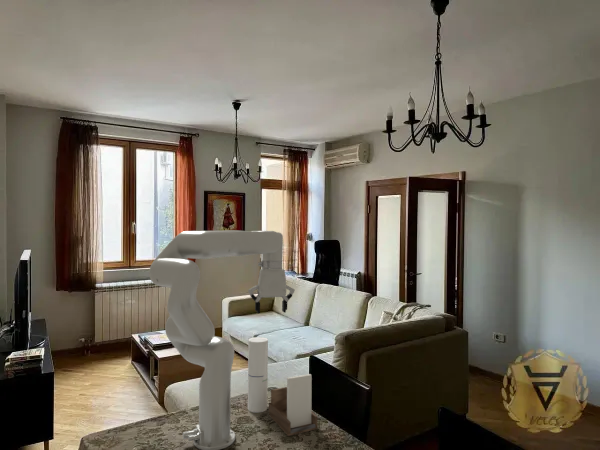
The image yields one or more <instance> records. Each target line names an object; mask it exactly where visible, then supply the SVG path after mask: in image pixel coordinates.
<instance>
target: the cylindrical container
mask: <svg viewBox="0 0 600 450" xmlns="http://www.w3.org/2000/svg"><path fill="white" fill-rule="evenodd" d="M247 342H248V344H247V348H248V349H247V351H248V353H247V355H248V356H247V359H248V360H247V411H249V412H251V413H264V412H265V411H267V409H268V377H269V375H268V372H269V371H268V369H269V367H268V365H269V363H268V362H269V360H268V359H269V358H268V357H269V339H268V338H267V337H265V336H264V337H262V336H259V337H258V336H256V337H250V338H248V341H247Z"/></svg>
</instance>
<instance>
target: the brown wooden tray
mask: <svg viewBox="0 0 600 450" xmlns="http://www.w3.org/2000/svg"><path fill="white" fill-rule="evenodd" d="M268 416H269V417H270V418H271V419H272V420H273V421H274V423H276V425H278V427H279V428H280V429H281V430H282V431H283V432H284V433H285V434H286V436H288V437H290V436H295V435H298V434H302V433H306V432H310V431H311V432H312V431H314V430H318V426H319V425H318V423H319V422H318V421H319V420H318V417H319V416H318V415H317V414H315V413H314V412H313V411H312V410H311V424H307V425H303V426H299V427H294V428H291V422H290V421H289V420H288V419H287V386H284V387H279V388H273V389H270V402H269V403H268Z"/></svg>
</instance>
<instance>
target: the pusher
mask: <svg viewBox="0 0 600 450" xmlns="http://www.w3.org/2000/svg"><path fill="white" fill-rule="evenodd" d="M286 380H287V381H286V387H287V419H288V420H289V421H290V422H291V428H294V427H299V426H303V425H307V424H311V411H312V389H313V388H312V386H313V385H312V380H313V378H312V374H311V373H307V374H300V375H296V376H289V377H288V376H287V378H286Z"/></svg>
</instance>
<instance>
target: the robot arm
mask: <svg viewBox="0 0 600 450" xmlns="http://www.w3.org/2000/svg"><path fill="white" fill-rule="evenodd" d="M283 243H284V235H283V233H281V232H280V231H279V232H278V231H274V230H251V231H247V230H237V229H235V230H233V229H232V230H231V229H230V230H229V229H225V230H185V231H182V232H180V233H178V234H177V235H175V237H174V238H173V239H172V240H171V241H170V242H169V243H168V244H167V245H166V246H165V247H164V249H162V251H161V252H160V253H159V254H158V255H157V256H156V258H155V259H153V262H152V263H151V265H150V267H149V271H148V276H149V279H150V281H151V283H152V284H154V285H155V286H158V287H162V288H169V289H170V292H169V295H168V300H167V305H166V309H167V312H168V314H169V316H168V318H167V319H166V321H165V326H164V327H165V329H164V330H165V334H166V335H165V336H166V337H167V339H168V340H169V342H170V343H171V344H172V346H173V347H174V348H175V349H176V350H177V352H178V353H179V354H180V355H181V356H182V358H183V360H186V361H187V362H189V363H191V364H192V365H196V366H200V367H202V368H204V371H203V372H202V375H201V377H200V380H199V384H198V424H196V425H195V426H196V427H195V428H193V429H192V430H185V431H183V432H182V439H183V440H185V439H186V440H187V439H188V441H189V442H190V441H193V445H194V446H195V447H196V448H197V449H199V450H222V449H226V448H228V447H230V446H231V445H233V444H234V442H235V440H236V433H235V432H234V430H232V429H231V394H232V393H231V385H232V383H231V381H232V380H231V379H232V370H233V369H232V368H233V363H234V358H235V348H234V346H233V344H232V342H231V341H230V340H228V339H226V338H224V337H220V336H216V335H215V333H216V332H215V331H216V330H215V326H214V323H213V322H212V320H211V318H209V316H208V315H207V313H206V311H205V310H204V309H203V307H202V306H201V304H200V303H199V300H198V298H197V291H198V286H199V283H200V279H201V270H200V267H199V265H198V264H197V262H194V261H193V260H191V259H194V260H195V259H197V260H198V259H199V260H207V259H208V260H209V259H217V258H227V257H230V258H231V257H243V256H250V255H261V262H257V266H258V267H261V269H259V272H258V273H259V275H258V280H257V284H256V285H254V286H252V287H251V288H249V289H247V291H248V294H249V296H250V298H251V299H252V300H253V301H254V303H255V305H254V310H255V312H256V313H257V314H260V313H261V302H260V300H261V299H262V298H282V303H281V312H282V313H286V312H287V310H288V302H289V300H290V299H291V298H292V297H293V294H294V293H295V289H294V288H293V287H291V286H289V285H287V278H286V272H285V271H286V270H285V268H284V269H283V257H284V256H283V252H284V251H283V250H284V249H283V247H284V244H283ZM256 290H257V295H256V296H255V295H254V292H255V291H256ZM287 290H288V294H287Z"/></svg>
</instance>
